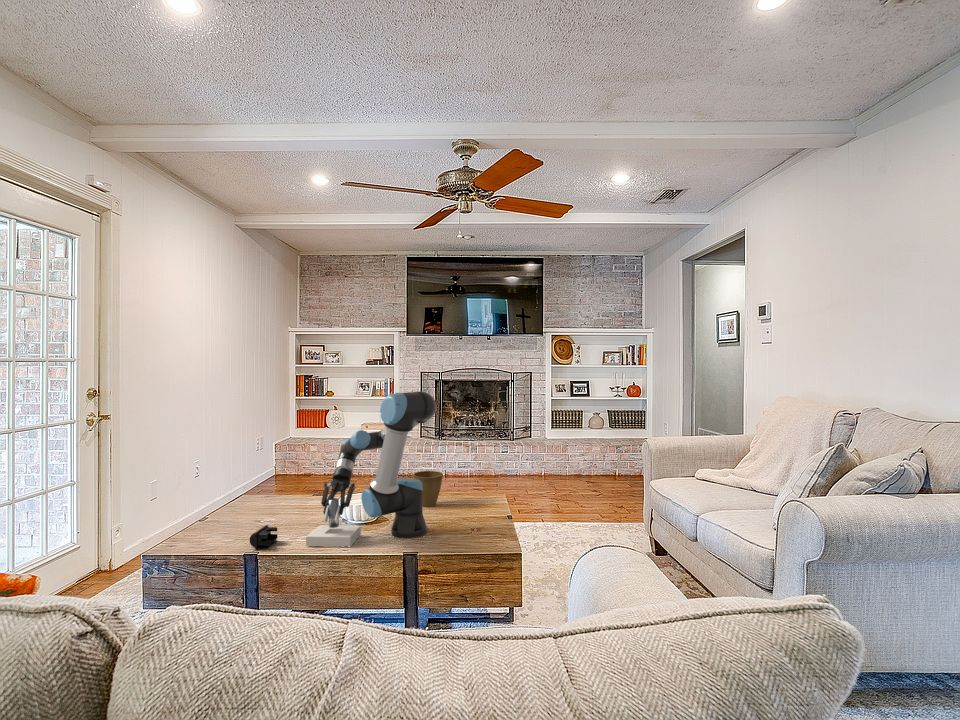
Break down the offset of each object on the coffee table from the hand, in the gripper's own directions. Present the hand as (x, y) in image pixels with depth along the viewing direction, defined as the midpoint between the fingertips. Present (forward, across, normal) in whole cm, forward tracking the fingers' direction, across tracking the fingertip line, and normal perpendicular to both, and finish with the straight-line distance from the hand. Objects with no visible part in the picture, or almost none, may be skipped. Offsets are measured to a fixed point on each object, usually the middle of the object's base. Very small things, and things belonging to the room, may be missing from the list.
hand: (330, 521), depth 216 cm
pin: (0, 0, -5) cm, 5 cm away
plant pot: (-33, -30, -47) cm, 65 cm away
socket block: (+4, 0, -9) cm, 10 cm away
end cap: (+8, +27, -5) cm, 29 cm away
